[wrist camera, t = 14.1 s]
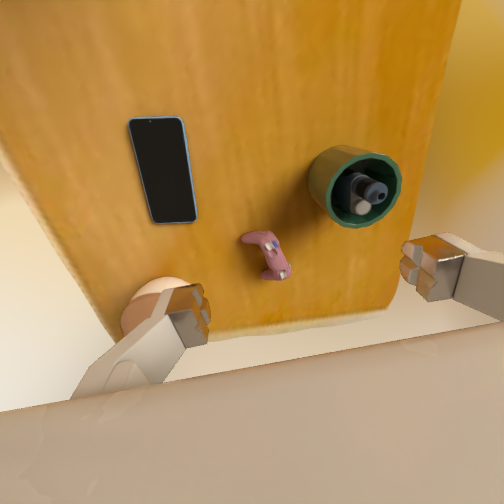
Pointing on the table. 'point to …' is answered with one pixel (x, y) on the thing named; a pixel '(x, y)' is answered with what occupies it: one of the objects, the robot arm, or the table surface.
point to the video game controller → (270, 254)
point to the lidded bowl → (146, 301)
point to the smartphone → (164, 168)
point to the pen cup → (359, 161)
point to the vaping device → (357, 191)
